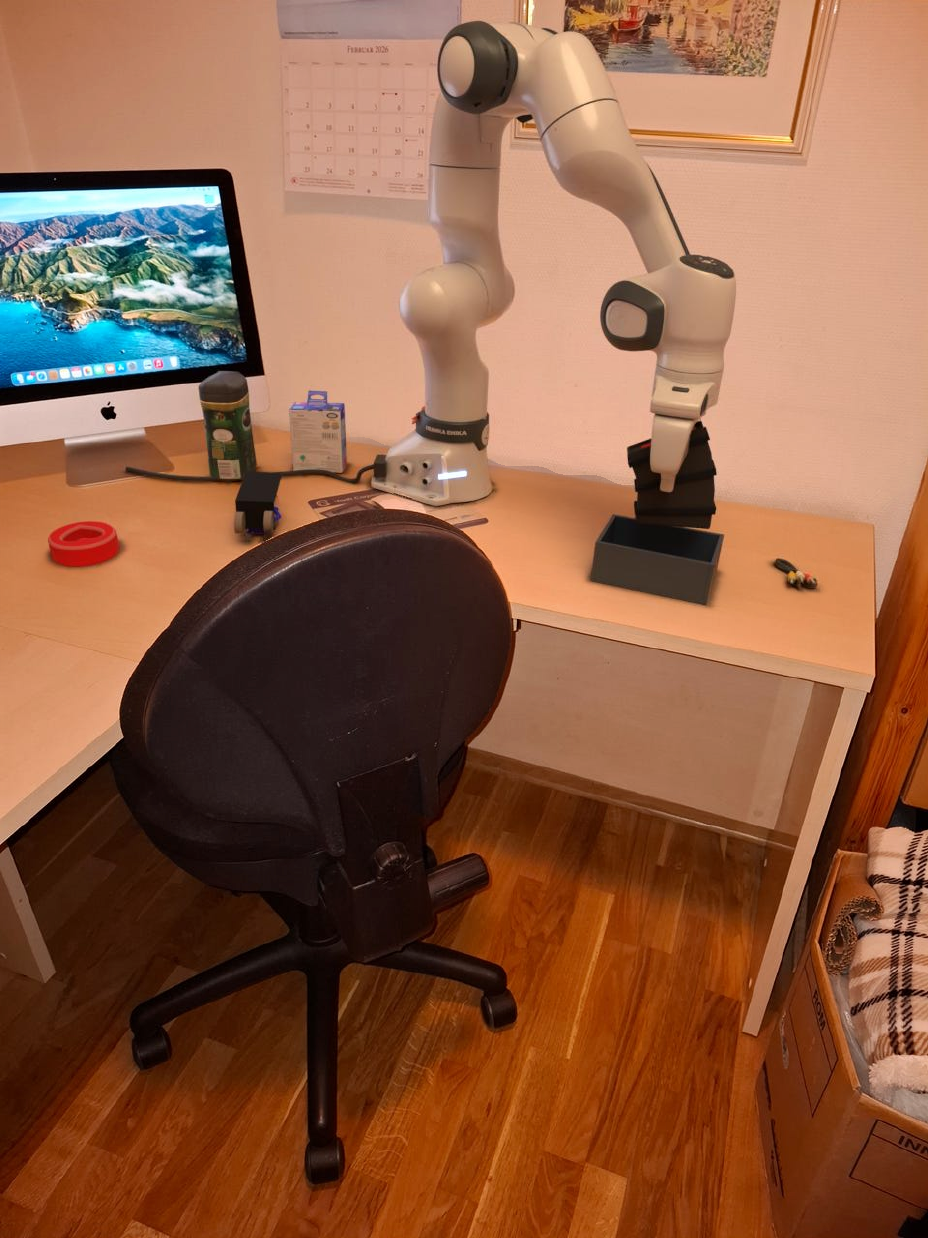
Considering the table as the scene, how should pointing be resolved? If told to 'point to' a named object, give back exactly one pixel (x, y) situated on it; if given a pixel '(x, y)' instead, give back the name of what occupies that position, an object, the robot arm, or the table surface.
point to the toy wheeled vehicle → (257, 504)
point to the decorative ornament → (83, 543)
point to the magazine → (676, 485)
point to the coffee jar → (227, 425)
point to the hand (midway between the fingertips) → (670, 483)
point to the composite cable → (796, 575)
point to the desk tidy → (657, 559)
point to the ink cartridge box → (318, 434)
